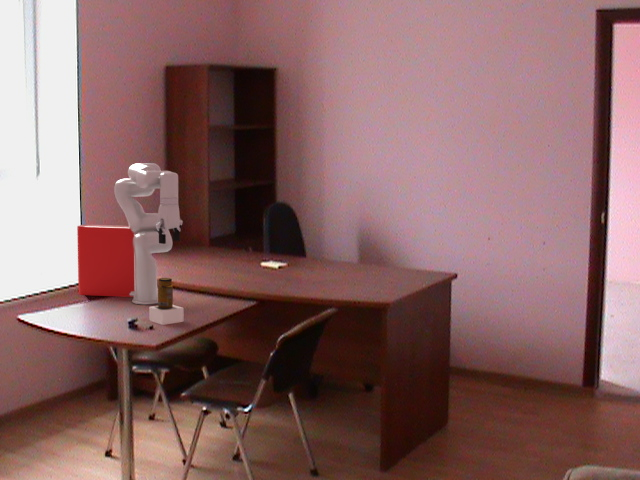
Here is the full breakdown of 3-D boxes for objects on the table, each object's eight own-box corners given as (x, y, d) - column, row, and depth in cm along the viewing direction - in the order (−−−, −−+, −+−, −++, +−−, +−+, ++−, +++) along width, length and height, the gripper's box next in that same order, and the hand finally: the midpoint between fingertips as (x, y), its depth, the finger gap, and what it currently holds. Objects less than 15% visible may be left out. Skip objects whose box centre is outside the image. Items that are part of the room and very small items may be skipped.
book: (139, 293, 431) (139, 226, 427) (134, 297, 423) (133, 228, 419) (83, 291, 434) (82, 224, 430) (77, 294, 426) (76, 226, 422)
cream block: (149, 321, 376) (149, 306, 375) (170, 318, 382) (170, 303, 381) (162, 325, 368) (162, 311, 367) (183, 322, 375) (183, 307, 374)
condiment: (171, 305, 379) (170, 276, 377) (177, 309, 371) (177, 280, 370) (153, 306, 376) (153, 277, 374) (159, 310, 368) (159, 281, 367)
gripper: (174, 199, 394) (174, 239, 397) (149, 202, 379) (149, 243, 382) (188, 200, 391) (188, 240, 393) (163, 203, 376) (163, 245, 378)
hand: (169, 242), depth 387 cm, fingers open, 9 cm apart
